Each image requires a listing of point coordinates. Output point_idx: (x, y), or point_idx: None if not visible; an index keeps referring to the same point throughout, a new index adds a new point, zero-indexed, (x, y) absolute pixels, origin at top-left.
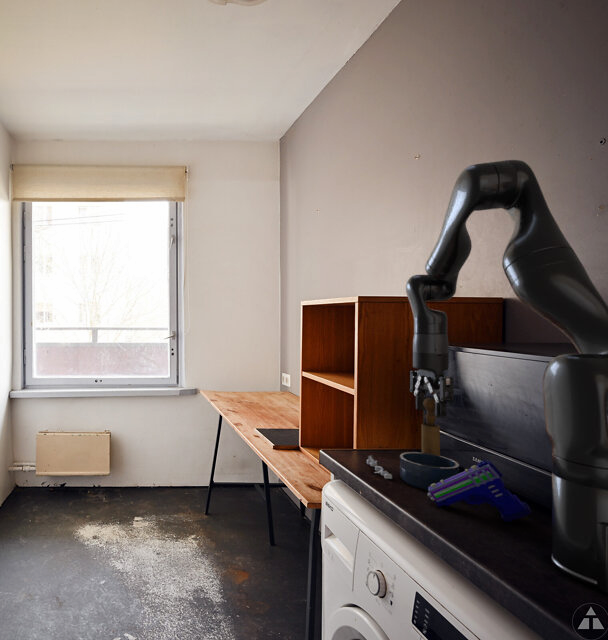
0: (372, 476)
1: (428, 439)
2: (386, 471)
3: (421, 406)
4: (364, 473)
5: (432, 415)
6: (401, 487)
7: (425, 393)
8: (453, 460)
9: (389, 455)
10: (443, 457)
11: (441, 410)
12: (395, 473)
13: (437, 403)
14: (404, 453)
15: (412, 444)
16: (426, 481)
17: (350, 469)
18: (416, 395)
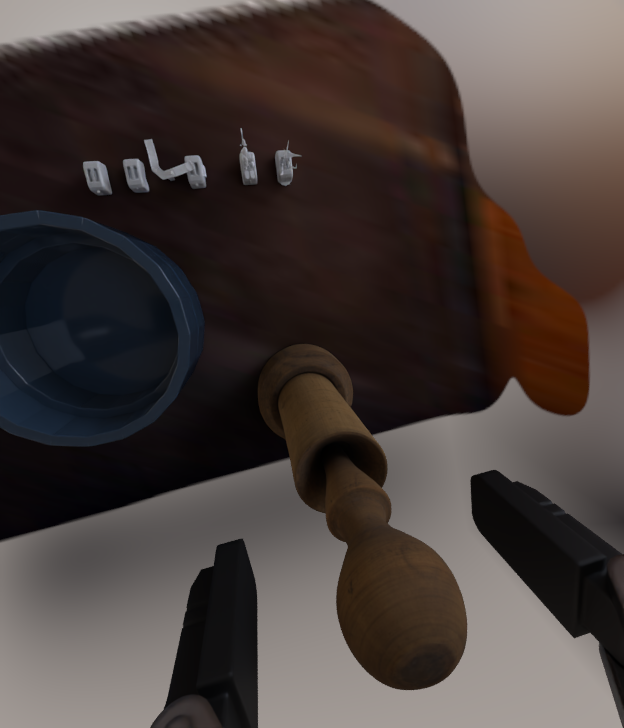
0: (107, 118)
1: (293, 418)
2: (129, 180)
3: (492, 518)
4: (136, 92)
5: (337, 527)
6: (9, 201)
7: (613, 679)
8: (106, 441)
9: (414, 289)
10: (143, 416)
11: (187, 626)
12: (189, 237)
13: (197, 682)
14: (141, 258)
15: (551, 409)
16: None
17: (172, 37)
18: (605, 570)
